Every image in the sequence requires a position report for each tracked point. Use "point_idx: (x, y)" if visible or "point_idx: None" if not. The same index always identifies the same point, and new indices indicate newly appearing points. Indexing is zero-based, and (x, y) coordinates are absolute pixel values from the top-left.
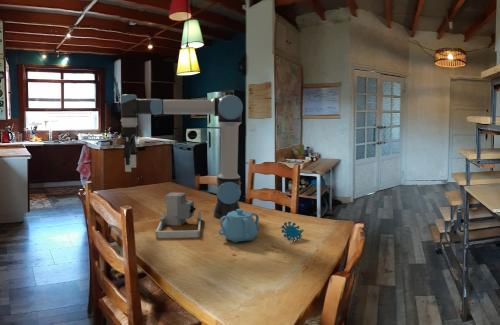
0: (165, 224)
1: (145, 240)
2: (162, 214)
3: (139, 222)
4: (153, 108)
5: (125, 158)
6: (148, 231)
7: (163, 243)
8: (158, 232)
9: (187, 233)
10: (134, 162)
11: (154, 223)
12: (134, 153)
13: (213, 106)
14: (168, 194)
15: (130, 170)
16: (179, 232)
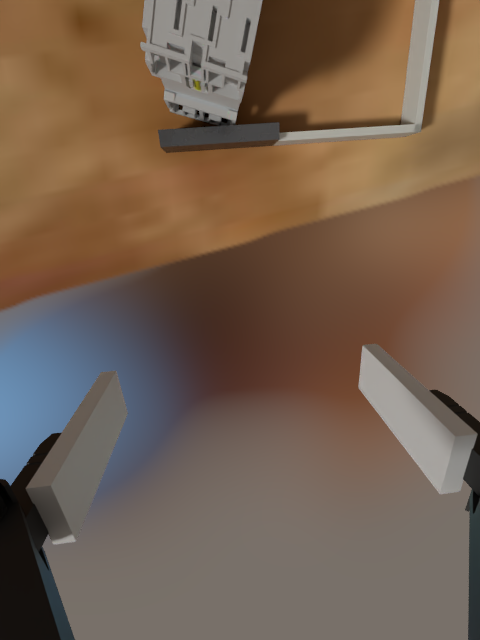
0: None
1: (420, 172)
2: (195, 144)
3: (206, 248)
4: None
5: (458, 481)
6: (321, 184)
7: (468, 92)
8: (420, 120)
9: None
10: (100, 417)
11: (218, 183)
12: (20, 526)
13: None
14: (208, 60)
15: (381, 352)
16: (434, 15)
